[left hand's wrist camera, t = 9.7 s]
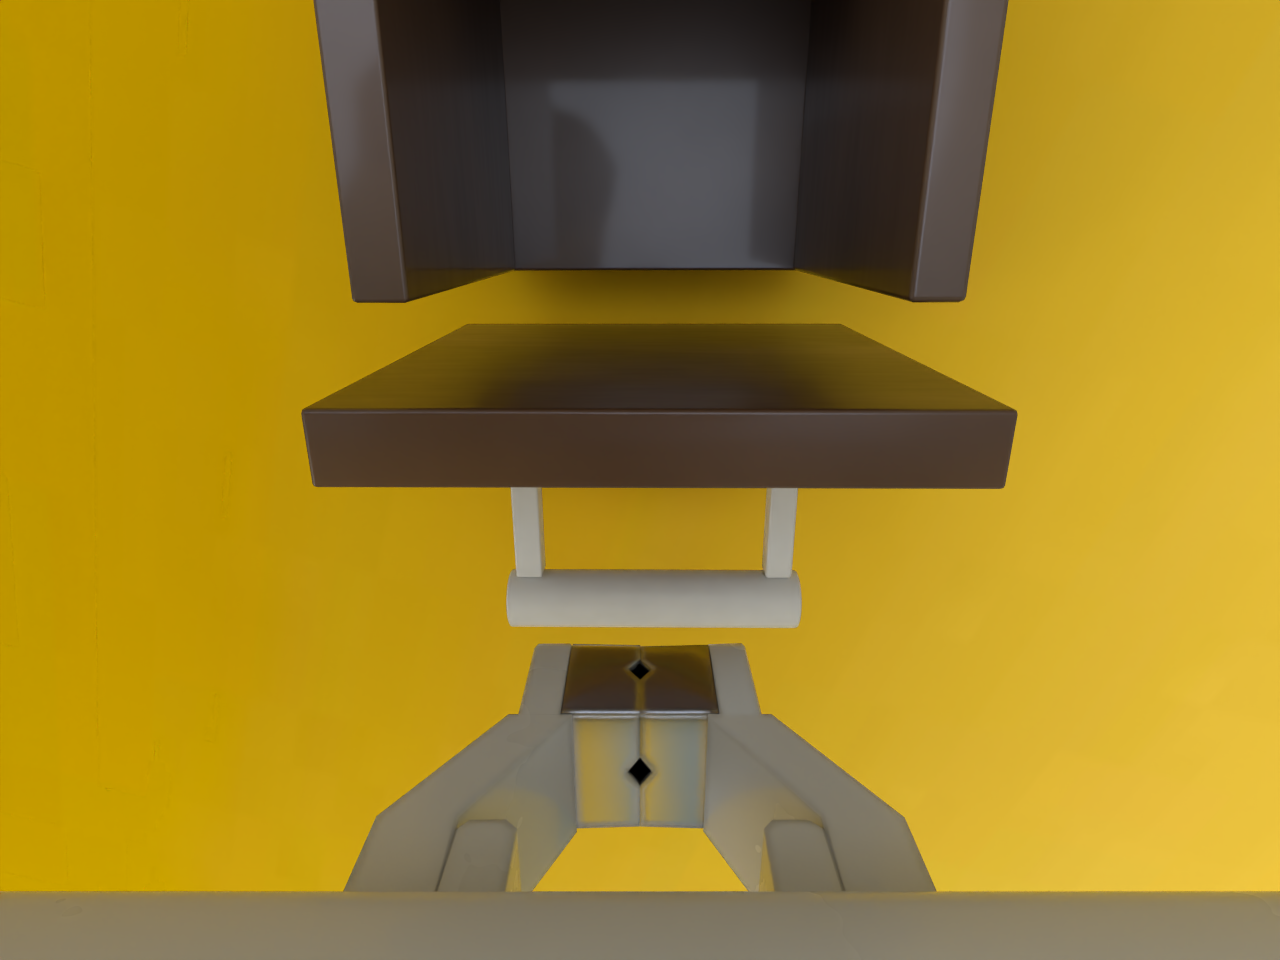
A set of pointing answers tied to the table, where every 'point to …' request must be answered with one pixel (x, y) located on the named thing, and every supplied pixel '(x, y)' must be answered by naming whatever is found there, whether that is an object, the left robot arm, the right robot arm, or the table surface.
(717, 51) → the drawer
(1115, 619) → the table surface
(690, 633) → the table surface
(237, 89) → the table surface
